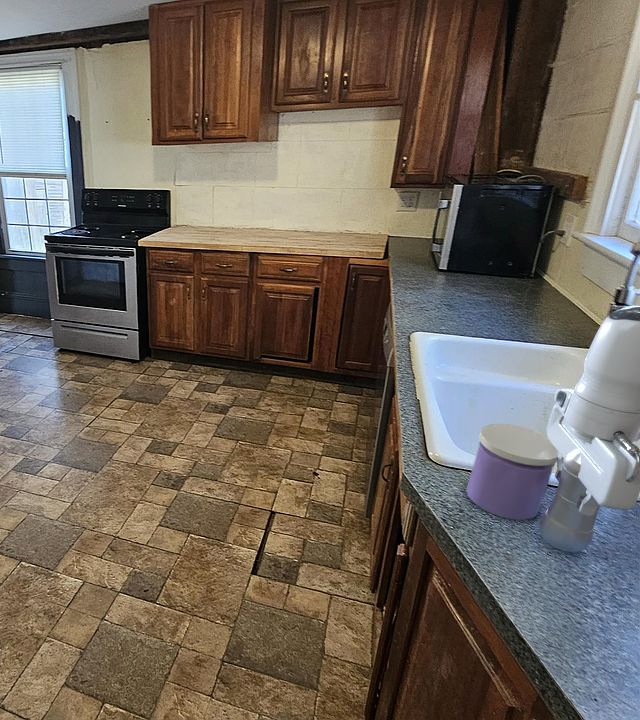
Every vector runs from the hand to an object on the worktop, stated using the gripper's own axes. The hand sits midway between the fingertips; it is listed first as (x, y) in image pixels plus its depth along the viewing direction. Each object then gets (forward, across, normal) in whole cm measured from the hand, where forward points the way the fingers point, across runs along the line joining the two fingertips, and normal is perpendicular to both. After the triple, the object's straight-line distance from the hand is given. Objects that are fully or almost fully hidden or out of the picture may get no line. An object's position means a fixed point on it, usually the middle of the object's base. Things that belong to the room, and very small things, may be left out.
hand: (572, 495), depth 81 cm
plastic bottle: (+9, 0, -1) cm, 9 cm away
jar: (+9, +9, +5) cm, 14 cm away
